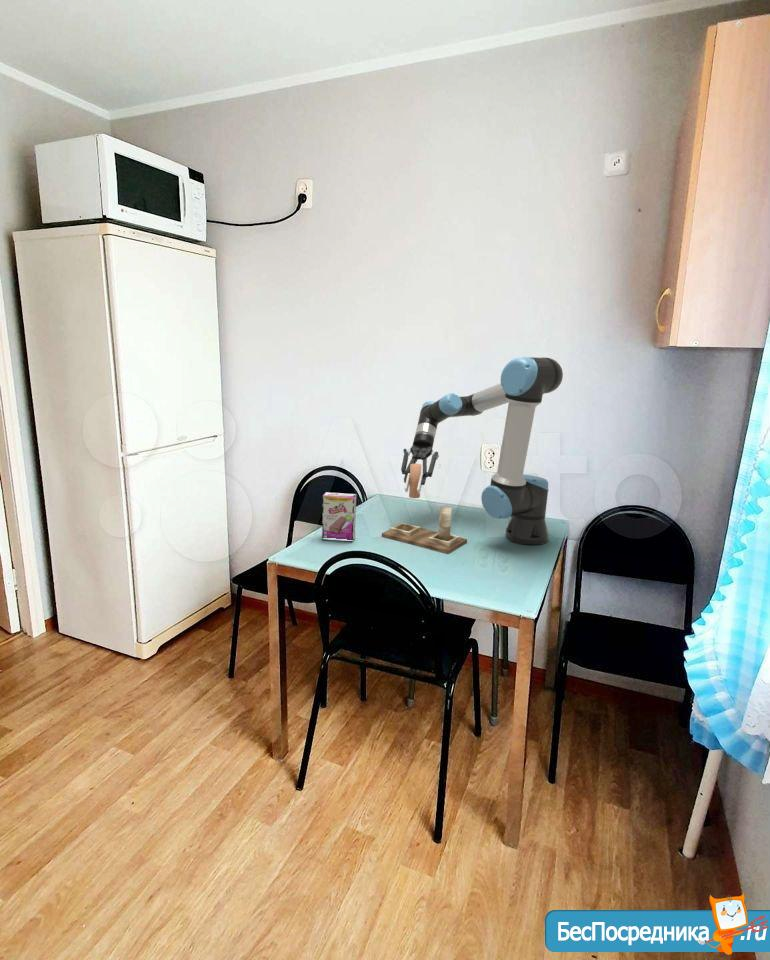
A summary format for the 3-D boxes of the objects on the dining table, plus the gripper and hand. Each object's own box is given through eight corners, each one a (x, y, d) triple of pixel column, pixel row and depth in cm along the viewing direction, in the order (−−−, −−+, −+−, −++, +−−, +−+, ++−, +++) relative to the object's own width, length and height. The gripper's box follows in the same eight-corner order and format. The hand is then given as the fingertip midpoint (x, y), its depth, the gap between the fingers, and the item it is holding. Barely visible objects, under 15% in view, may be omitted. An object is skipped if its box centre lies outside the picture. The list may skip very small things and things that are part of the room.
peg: (422, 496, 206) (423, 464, 203) (415, 498, 203) (417, 466, 200) (412, 494, 209) (414, 463, 206) (406, 496, 206) (408, 464, 203)
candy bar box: (321, 540, 195) (321, 495, 191) (324, 536, 200) (324, 491, 196) (353, 542, 194) (354, 497, 190) (355, 537, 199) (356, 493, 195)
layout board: (467, 542, 198) (469, 506, 194) (448, 553, 186) (450, 516, 183) (402, 526, 212) (404, 493, 209) (381, 536, 201) (382, 501, 198)
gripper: (447, 445, 214) (436, 498, 202) (404, 441, 218) (391, 493, 207) (445, 433, 207) (434, 488, 196) (401, 430, 212) (387, 483, 201)
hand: (412, 490), depth 202 cm, fingers closed on peg, 4 cm apart
